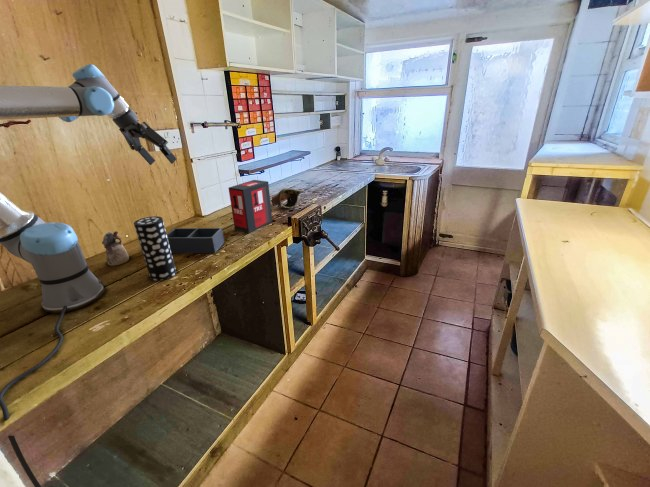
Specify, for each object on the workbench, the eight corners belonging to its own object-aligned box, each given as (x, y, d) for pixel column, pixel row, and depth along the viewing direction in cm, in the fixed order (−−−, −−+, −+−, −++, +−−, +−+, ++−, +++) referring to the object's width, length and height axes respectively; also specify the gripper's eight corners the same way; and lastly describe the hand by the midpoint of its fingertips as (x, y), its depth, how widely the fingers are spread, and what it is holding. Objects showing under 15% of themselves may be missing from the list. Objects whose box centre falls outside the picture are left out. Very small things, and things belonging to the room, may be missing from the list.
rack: (215, 253, 123) (212, 237, 121) (165, 253, 125) (161, 238, 122) (224, 242, 133) (221, 227, 130) (177, 242, 134) (174, 228, 132)
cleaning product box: (249, 232, 142) (243, 189, 134) (234, 229, 146) (228, 187, 138) (272, 221, 155) (268, 181, 147) (258, 218, 159) (254, 179, 151)
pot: (282, 184, 186) (298, 179, 172) (292, 200, 190) (308, 197, 176) (260, 199, 178) (275, 195, 163) (271, 216, 182) (286, 214, 167)
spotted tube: (166, 281, 104) (150, 225, 96) (144, 279, 106) (127, 224, 98) (181, 269, 112) (167, 216, 104) (160, 267, 113) (146, 215, 105)
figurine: (110, 258, 121) (100, 230, 116) (130, 255, 124) (121, 227, 119) (105, 267, 115) (95, 237, 110) (127, 263, 117) (118, 234, 113)
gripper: (149, 102, 105) (189, 154, 120) (109, 111, 117) (150, 157, 132) (134, 114, 101) (177, 167, 116) (94, 122, 113) (138, 169, 128)
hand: (163, 162), depth 124 cm, fingers open, 13 cm apart
